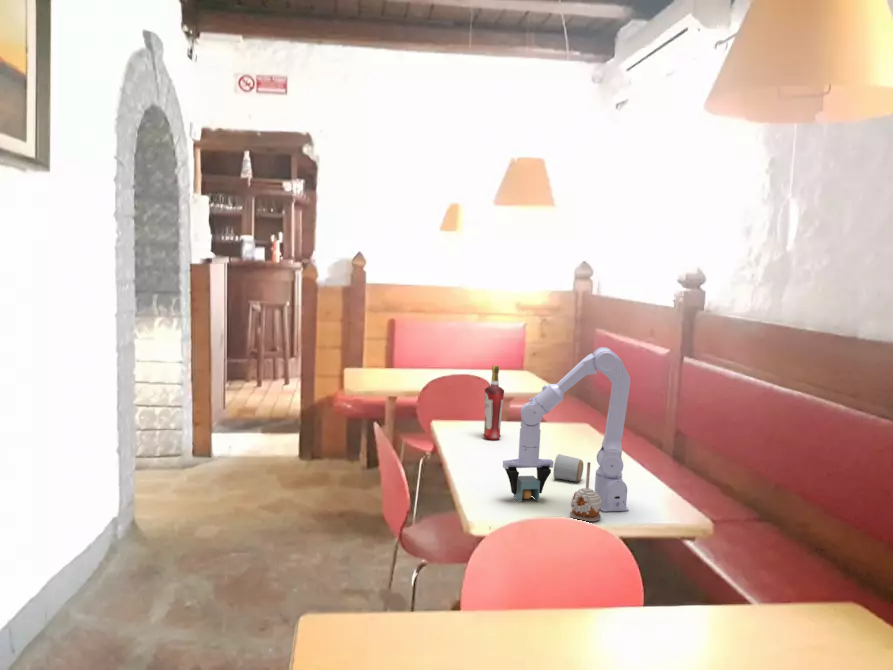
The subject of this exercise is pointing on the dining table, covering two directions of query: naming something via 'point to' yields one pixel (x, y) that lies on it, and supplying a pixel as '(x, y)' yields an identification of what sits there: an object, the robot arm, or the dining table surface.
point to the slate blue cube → (527, 486)
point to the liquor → (493, 407)
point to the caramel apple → (586, 502)
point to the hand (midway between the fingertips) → (526, 492)
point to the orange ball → (526, 494)
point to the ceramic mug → (568, 468)
